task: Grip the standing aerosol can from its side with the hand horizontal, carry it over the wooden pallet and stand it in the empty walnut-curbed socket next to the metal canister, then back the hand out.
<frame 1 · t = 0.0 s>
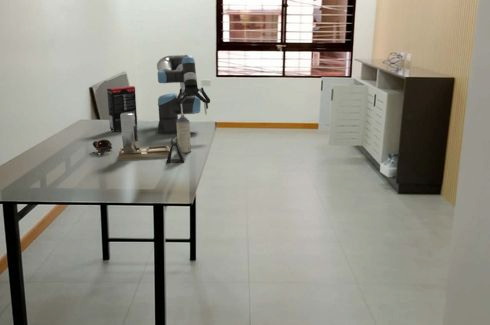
hand: (194, 114, 299), 15 cm above the table, tool tilted 35°, fingers open, 13 cm apart
brown curved piece: (103, 153, 282), on the table
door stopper: (175, 161, 261), on the table
metal canister: (130, 152, 270), resting on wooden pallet
aerosol can: (184, 152, 279), on the table
graphics card box: (124, 129, 338), on the table
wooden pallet: (144, 155, 272), on the table
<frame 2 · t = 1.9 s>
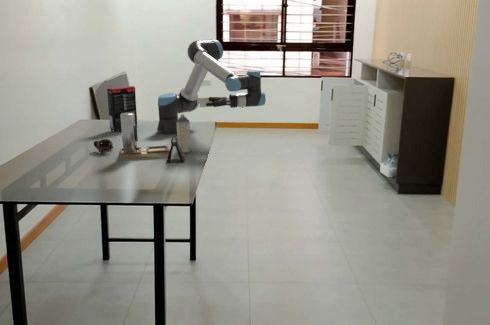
hand: (198, 102, 282), 24 cm above the table, tool horizontal, fingers open, 13 cm apart
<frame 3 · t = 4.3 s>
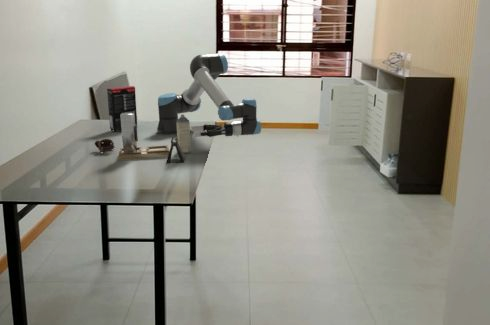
hand: (192, 131, 276), 11 cm above the table, tool horizontal, fingers open, 13 cm apart
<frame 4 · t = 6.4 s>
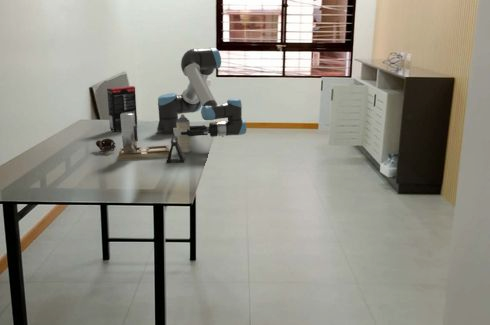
hand: (174, 132, 275), 11 cm above the table, tool horizontal, fingers closed on aerosol can, 7 cm apart
aerosol can: (184, 152, 279), on the table, touching gripper
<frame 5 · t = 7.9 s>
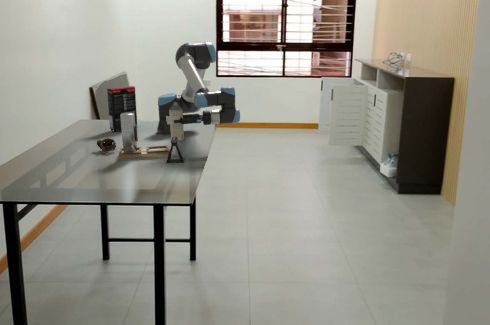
hand: (166, 120, 271), 18 cm above the table, tool horizontal, fingers closed on aerosol can, 7 cm apart
aerosol can: (177, 140, 275), point 7 cm above the table, touching gripper
when the fingers open (15 cm above the table, at t = 9.7 s): aerosol can drops 1 cm, resting on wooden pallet.
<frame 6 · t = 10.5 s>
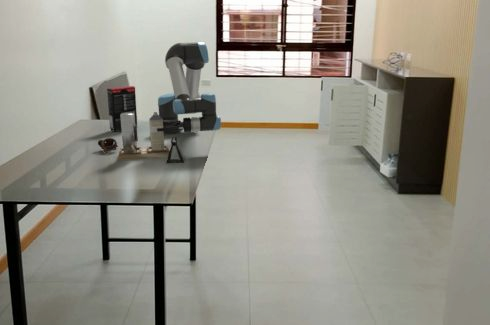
hand: (149, 127, 269), 15 cm above the table, tool horizontal, fingers open, 13 cm apart
aerosol can: (158, 150, 273), point 2 cm above the table, touching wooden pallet
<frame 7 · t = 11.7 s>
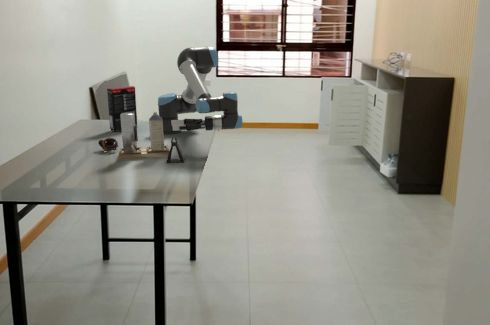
hand: (171, 125, 271), 15 cm above the table, tool horizontal, fingers open, 13 cm apart
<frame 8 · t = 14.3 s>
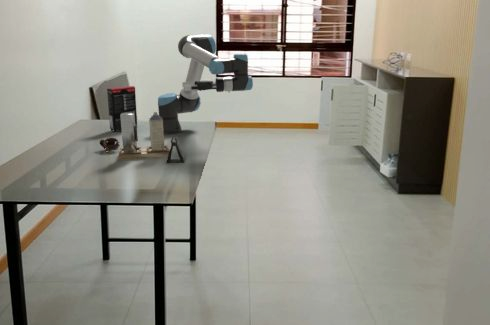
hand: (183, 86, 275), 34 cm above the table, tool horizontal, fingers open, 13 cm apart
at the end: aerosol can inside the target area on the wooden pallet (0.1 cm from its centre), point 2.3 cm above the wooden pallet's base; aerosol can tilted 0°; the gripper is holding nothing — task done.
